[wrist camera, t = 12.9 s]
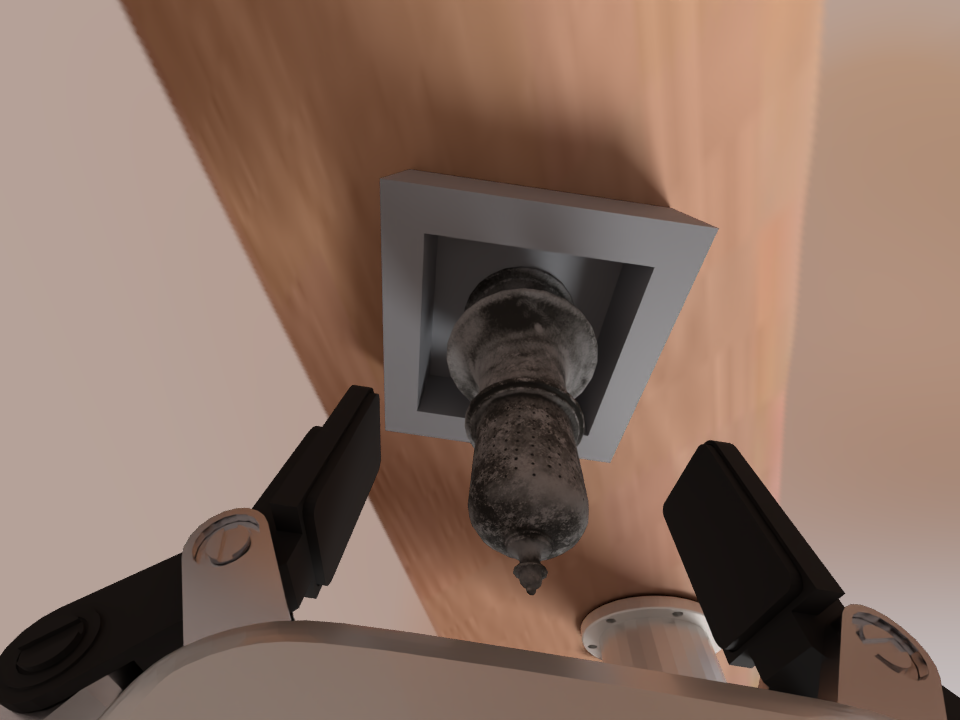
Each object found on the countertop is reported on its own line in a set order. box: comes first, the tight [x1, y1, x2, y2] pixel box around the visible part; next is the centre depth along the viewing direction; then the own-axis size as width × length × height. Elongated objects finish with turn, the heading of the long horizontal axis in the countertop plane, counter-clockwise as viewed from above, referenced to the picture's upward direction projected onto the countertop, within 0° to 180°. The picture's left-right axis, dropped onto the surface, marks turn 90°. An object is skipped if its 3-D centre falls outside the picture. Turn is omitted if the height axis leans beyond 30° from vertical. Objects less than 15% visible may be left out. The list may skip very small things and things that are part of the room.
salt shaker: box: [446, 266, 598, 595], centre depth 12 cm, size 6×6×12 cm
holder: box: [380, 169, 719, 463], centre depth 16 cm, size 11×11×4 cm
